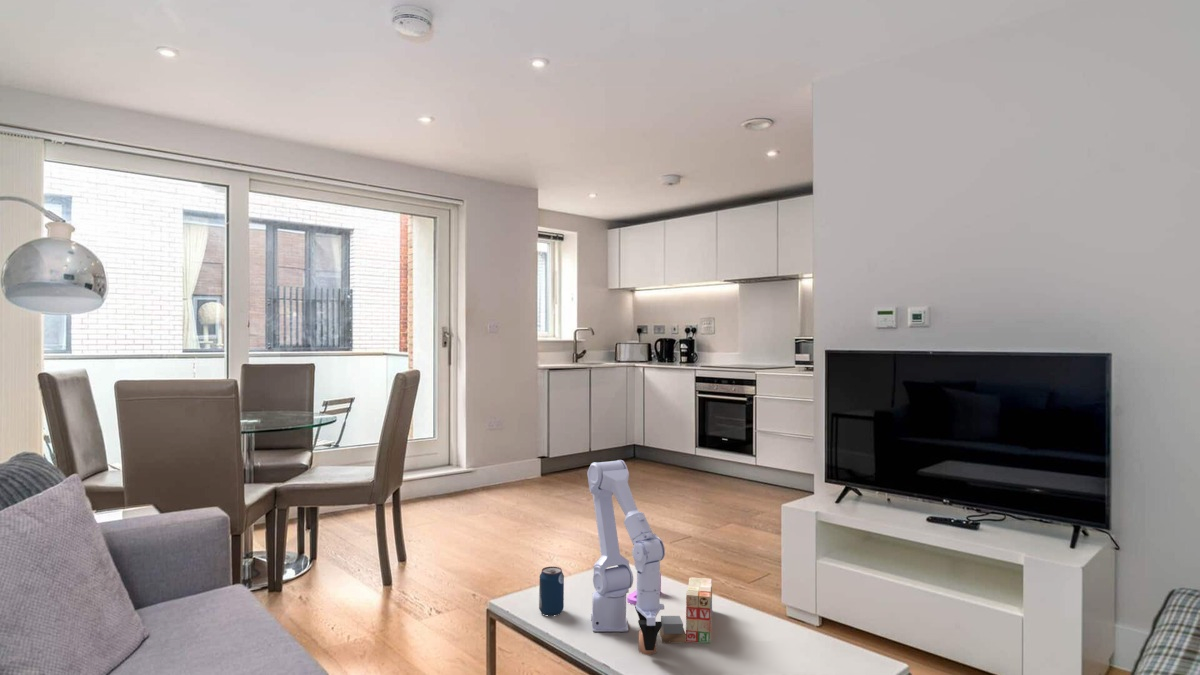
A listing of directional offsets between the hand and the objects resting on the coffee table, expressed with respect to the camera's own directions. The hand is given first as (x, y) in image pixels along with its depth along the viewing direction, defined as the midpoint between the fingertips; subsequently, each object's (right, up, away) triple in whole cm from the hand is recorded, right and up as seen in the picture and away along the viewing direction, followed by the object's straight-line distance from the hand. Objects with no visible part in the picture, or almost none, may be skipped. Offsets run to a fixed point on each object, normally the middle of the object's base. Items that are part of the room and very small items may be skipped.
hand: (647, 642), depth 160 cm
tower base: (+7, -3, +7) cm, 10 cm away
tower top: (+7, 0, +7) cm, 10 cm away
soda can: (-26, -2, +22) cm, 34 cm away
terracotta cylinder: (0, -2, 0) cm, 2 cm away
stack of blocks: (+15, -3, +15) cm, 21 cm away
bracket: (+1, -3, +34) cm, 34 cm away
